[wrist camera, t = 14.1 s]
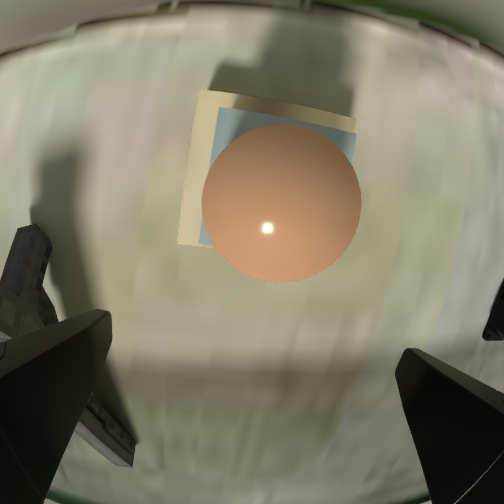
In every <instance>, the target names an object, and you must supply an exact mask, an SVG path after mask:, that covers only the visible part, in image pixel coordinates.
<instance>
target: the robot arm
mask: <svg viewBox="0 0 504 504" xmlns="http://www.w3.org/2000/svg"><path fill="white" fill-rule="evenodd" d="M482 338H483V339H484V340H486V341H500V340H504V282H503V285H502V288H501V291H500V294H499V296H498V299H497V302H496V304H495V307H494V309H493V312H492V314H491V317H490V319H489V322H488V324H487V326H486V329H485V331H484V333H483V336H482ZM111 342H112V318H111V313H110V312H109V311H106V310H101V309H95V310H92V311H89V312H87V313H84V314H81V315H78V316H75V317H72V318H69V319H66V320H64V321H61V322H58V323H55V324H52V325H49V326H46V327H43V328H41V329H38V330H35V331H32V332H29V333H26V334H23V335H20V336H17V337H15V338H12V339H9V340H7V342H6V341H3V342H0V504H43V503H44V501H43V500H45V498H46V495H47V493H48V490H49V488H50V485H51V483H52V480H53V478H54V475H55V473H56V471H57V468H58V466H59V463H60V461H61V459H62V457H63V454H64V452H65V450H66V447H67V445H68V443H69V441H70V438H71V436H72V434H73V432H74V430H75V428H76V425H77V423H78V421H79V419H80V417H81V415H82V413H83V411H84V408H85V406H86V404H87V402H88V400H89V398H90V396H91V394H92V392H93V390H94V388H95V386H96V384H97V381H98V378H99V376H100V373H101V370H102V367H103V364H104V362H105V359H106V356H107V353H108V351H109V348H110V345H111ZM395 377H396V381H397V385H398V389H399V393H400V397H401V401H402V405H403V409H404V413H405V416H406V420H407V422H408V425H409V428H410V431H411V434H412V437H413V440H414V444H415V447H416V450H417V453H418V456H419V459H420V463H421V466H422V469H423V473H424V476H425V480H426V483H427V487H428V490H429V494H430V498H431V501H432V504H504V394H503V393H502V392H500V391H497V390H496V389H494V388H492V387H490V386H488V385H486V384H484V383H482V382H480V381H479V380H477V379H475V378H473V377H471V376H469V375H467V374H465V373H463V372H461V371H459V370H458V369H456V368H454V367H452V366H450V365H448V364H446V363H444V362H442V361H440V360H439V359H437V358H435V357H433V356H431V355H429V354H427V353H425V352H423V351H422V350H420V349H417V348H407V349H405V350H404V352H403V354H402V356H401V359H400V361H399V363H398V365H397V367H396V371H395Z"/></svg>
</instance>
